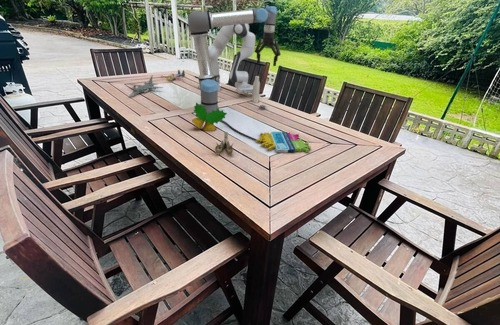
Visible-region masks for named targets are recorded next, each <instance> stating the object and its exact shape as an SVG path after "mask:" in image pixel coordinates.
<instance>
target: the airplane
mask: <svg viewBox="0 0 500 325" xmlns="http://www.w3.org/2000/svg"><path fill="white" fill-rule="evenodd" d="M153 78H154V75H153V74H151V76H150V78H149V80H148V81H147V82H146V81H144V82H143V85H142V84H134V83H129V84H128V85H130V86H132V87H131V89H133V91H132V92H131V93H130V94H129V95H128V96H127V98H129V97H130V98H131V97H135V96H137V95H139V94H141V93H148V92H150V91H151V90H152V92H154V91H156V90H157V89H163V88H164V87H162V86H157V85H158V83H154V82H153ZM155 85H156V86H155Z"/></svg>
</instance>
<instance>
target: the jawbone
mask: <svg viewBox="0 0 500 325" xmlns="http://www.w3.org/2000/svg"><path fill="white" fill-rule="evenodd" d="M223 135H224V136H223V140H222V139H221V142H220V144H218V142H215V144H216V146H215V148H214V149H215V152H214V154H215V155H217V156H218V155H220V153H221V152H223V151H224V150H226V152H227V153H228V155H229V156H233V155H234V154H233V153H234V148H233V144H234V143H230V140H228V139H229V138H228V137H229V136H228V135H229V133H228V131H226V132H224V134H223Z"/></svg>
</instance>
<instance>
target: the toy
mask: <svg viewBox="0 0 500 325" xmlns="http://www.w3.org/2000/svg"><path fill="white" fill-rule="evenodd" d="M185 76H186V73H185V70H182V72H181V70H180V69H178V70H177V74H176V73H171V74H169V75H168V76H163V75H160V78H161V79H162V78H163V79H164V78H165V79H166V81H169V82H171V81H173V80H180V81H185V78H184V77H185ZM180 77H181V78H180Z"/></svg>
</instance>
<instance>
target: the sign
mask: <svg viewBox="0 0 500 325" xmlns="http://www.w3.org/2000/svg"><path fill="white" fill-rule="evenodd" d="M299 136H300V135H299V134H298V133H296V134H294V133H291V132H287V131H270V132H264V133H263V132H260V133H259V139H258V138H256V139H257V141H255V142H256V143H257V144H261V148H263V147H264V148H265V149H267V151H268V152H271V151H272V150H273V149H275V152H276V153H283V154H285V153H287V154H288V153H290V154H293V153H296V152H298V153H301V152H305V153H310V151H311V150H312V149H311V148H312V146H309V142H304V141H303V139H302V138H299ZM260 142H263V143H260Z"/></svg>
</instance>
